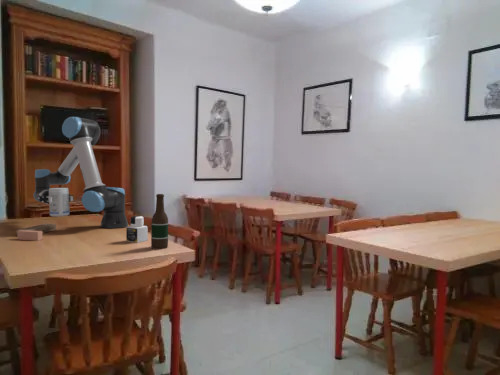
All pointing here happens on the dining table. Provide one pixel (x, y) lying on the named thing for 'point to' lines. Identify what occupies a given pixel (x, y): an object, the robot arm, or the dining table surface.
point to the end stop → (29, 235)
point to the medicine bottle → (137, 230)
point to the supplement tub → (59, 202)
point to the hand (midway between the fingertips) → (62, 199)
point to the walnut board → (40, 228)
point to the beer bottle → (159, 225)
